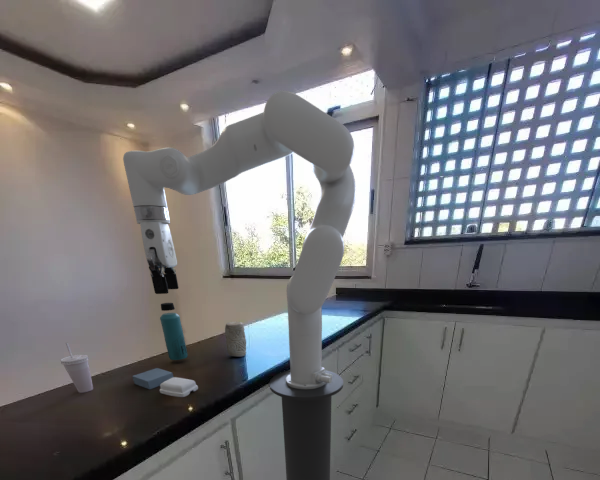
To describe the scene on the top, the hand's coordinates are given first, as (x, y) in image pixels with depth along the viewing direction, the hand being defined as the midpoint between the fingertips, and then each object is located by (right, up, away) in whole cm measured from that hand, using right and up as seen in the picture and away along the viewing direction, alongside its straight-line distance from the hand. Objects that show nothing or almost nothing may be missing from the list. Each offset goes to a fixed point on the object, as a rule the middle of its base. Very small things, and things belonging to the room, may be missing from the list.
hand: (167, 291), depth 82 cm
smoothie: (-26, -26, +7) cm, 38 cm away
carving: (+12, -13, +31) cm, 36 cm away
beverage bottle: (-8, -15, +27) cm, 32 cm away
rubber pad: (-8, -24, +10) cm, 27 cm away
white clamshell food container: (+1, -26, +4) cm, 27 cm away
